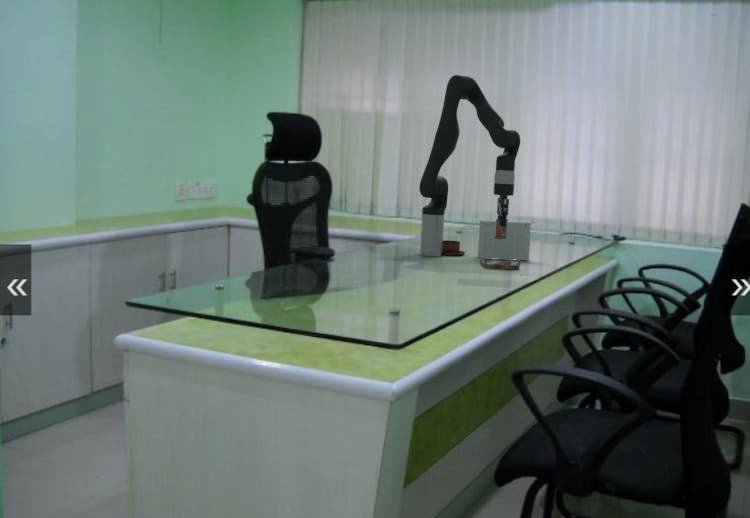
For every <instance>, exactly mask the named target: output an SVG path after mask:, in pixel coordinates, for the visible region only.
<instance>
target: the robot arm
mask: <svg viewBox="0 0 750 518" xmlns="http://www.w3.org/2000/svg"><path fill="white" fill-rule="evenodd" d="M461 100H464V101H465V100H466V101H468V102H469V103H470V104H471V105H473V107H474V108H475V110H476V115H477V116H476V117H477V119H478V121H479V122H480V124H481V125H482V126H483V127H484V129H486V131H488V135H489V136H490V138H491V141H492V142H493V144H494V145H495V146H496V147H498V148H500V149H503V153H502V154H499V155H497V156H496V159H495V174H494V181H493V184H494V185H493V195H494V196H499V197H497V199H496V200H497V202H496V203H497V206H496V214H497V219H499V214H500V226H506V219H508V218H507V217H508V215H509V204H510V199H509V198H508V196H509V197H510V196H511V197H512V196H514V193H515V191H514V190H515V178H516V177H515V167H516V165H515V164H516V158H517V155H518V154H519V153H518V152H519V149H520V146H521V136H520V134H519V132H518V131H517V130H514V129H506V128H505V127H504V126H505V121H504V119H503V118H502V117H501V116H500V115H499V114H498V112H497V111H496V109H494V108H493V107H492V105H491V104H490V102H489V101H488V99H487V98H486V96H485V95H484V93H483V91H482V89H481V87H480V86H479V84H478V82H477V81H476V80H475V78H473V77H472V76H468V75H462V74H454V75H452V76H451V77H450V78H449V80H448V82H447V85H446V88H445V95H444V99H443V106H442V110H441V114H440V119H439V122H438V126H437V128H436V131H435V135H434V139H433V142H432V143H433V144H432V148H431V151H430V153H429V154H430V155H429V157H428V160H427V163H426V166H425V167H424V168H425V169H424V171H423V174H422V176H421V178H420V182H419V188H418V189H419V193H420V195H421V197H423V198H426V199H430V202H429V203H428V204H427V205H424V206H423V207H422V211H421V212H422V214H421V231H420V245H419V247H420V248H419V256H425V257H442V256H443V255H442V248H443V241H444V227H445V212H446V210H447V206H448V198H449V197H448V196H449V182H448V180H447V178H446V177H445V176H442V175H439V174H440V170H441V168H442V166H443V165H444V164H445V162H446V161H448V159H449V158H450V157H451V155H452V154H453V153H454V151H455V150H456V147H457V144H458V140H459V136H460V126H459V125H460V124H459V120H458V109H459V104H460V102H461Z"/></svg>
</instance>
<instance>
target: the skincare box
mask: <svg viewBox="0 0 750 518" xmlns="http://www.w3.org/2000/svg"><path fill="white" fill-rule="evenodd" d="M531 224H532V223H531V222H523V221H522V222H519V221H507V233H506V236H507V239H495V236H496V220H479V227H478V245H477V251H478V252H477V258H478V259H485V258H497V259H498V258H499V259H516V260H526V261H525V262H529V261H530V242H531Z"/></svg>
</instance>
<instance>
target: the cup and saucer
mask: <svg viewBox="0 0 750 518" xmlns="http://www.w3.org/2000/svg"><path fill="white" fill-rule="evenodd" d="M460 249H461V241H458V240H443V248H442V256H449V257H450V256H452V257H453V256H454V257H460V256H463V255H465V253H466V252H465V251H463V250H460Z"/></svg>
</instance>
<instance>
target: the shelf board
mask: <svg viewBox="0 0 750 518" xmlns="http://www.w3.org/2000/svg"><path fill="white" fill-rule="evenodd" d="M520 262H521V261H520V260H513V259H492V258H484V259H482V260H481V259H480V261H479V264H480V265H481V266H482V267H483V268H484V269H494V270H495V269H497V270H498V269H499V270H517V271H518V270H520V264H521V263H520Z"/></svg>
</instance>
